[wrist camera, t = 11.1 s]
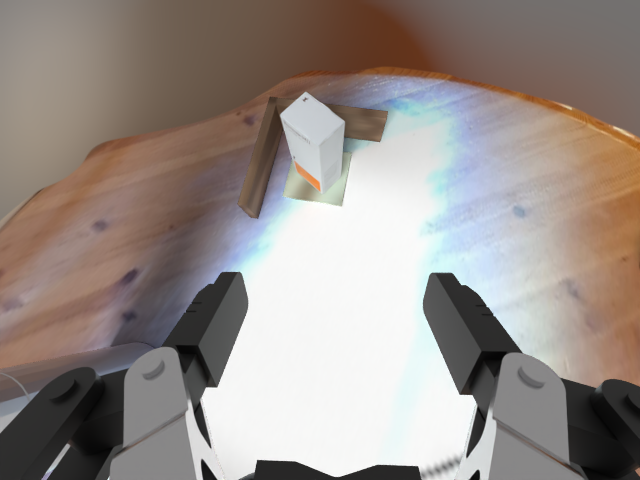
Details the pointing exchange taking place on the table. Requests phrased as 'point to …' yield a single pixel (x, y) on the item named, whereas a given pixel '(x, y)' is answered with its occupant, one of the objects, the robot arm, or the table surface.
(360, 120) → the corner arena
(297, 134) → the skincare box
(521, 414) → the robot arm
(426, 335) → the table surface
